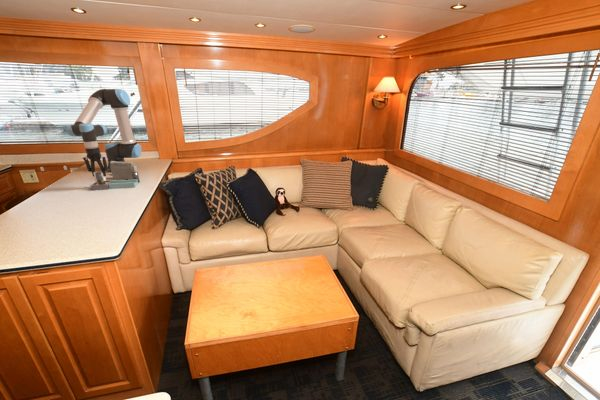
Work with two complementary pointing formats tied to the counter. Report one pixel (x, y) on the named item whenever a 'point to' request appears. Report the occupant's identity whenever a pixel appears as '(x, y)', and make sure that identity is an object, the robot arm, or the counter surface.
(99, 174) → the cell
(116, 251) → the counter surface
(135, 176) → the cell
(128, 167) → the geiger counter
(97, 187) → the grey square tray
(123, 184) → the trough
